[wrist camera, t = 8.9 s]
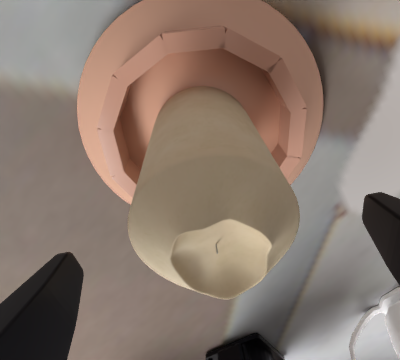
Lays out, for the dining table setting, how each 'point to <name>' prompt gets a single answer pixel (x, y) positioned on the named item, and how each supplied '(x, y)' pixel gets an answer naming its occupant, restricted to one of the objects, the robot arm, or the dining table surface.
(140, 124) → the candle dish
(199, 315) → the dining table surface
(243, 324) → the dining table surface
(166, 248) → the candle
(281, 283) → the dining table surface
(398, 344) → the cup
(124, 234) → the dining table surface
